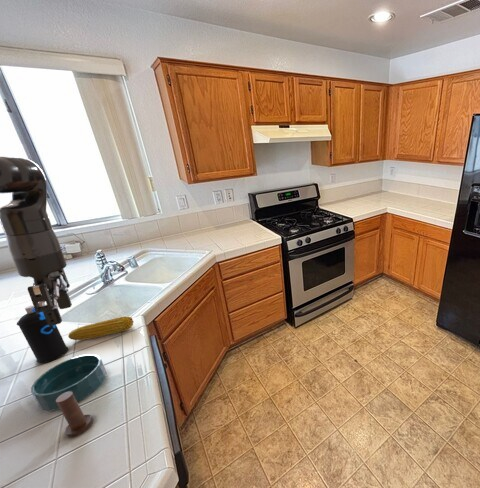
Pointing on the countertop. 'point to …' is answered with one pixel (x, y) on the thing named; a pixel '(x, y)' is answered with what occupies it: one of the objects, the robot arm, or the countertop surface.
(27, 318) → the aerosol can
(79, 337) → the food
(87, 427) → the brown wooden peg
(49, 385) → the bowl
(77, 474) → the countertop surface
